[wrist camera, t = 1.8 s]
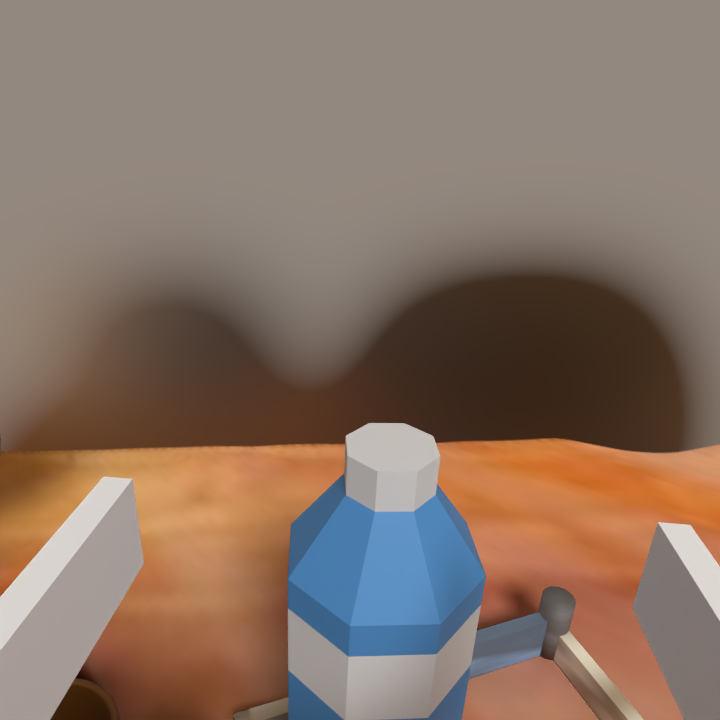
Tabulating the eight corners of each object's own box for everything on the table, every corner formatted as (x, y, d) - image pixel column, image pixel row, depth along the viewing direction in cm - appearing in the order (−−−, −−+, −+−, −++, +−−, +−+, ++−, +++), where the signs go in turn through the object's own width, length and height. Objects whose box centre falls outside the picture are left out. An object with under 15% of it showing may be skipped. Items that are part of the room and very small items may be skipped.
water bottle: (321, 948, 28) (336, 545, 18) (263, 768, 36) (252, 416, 26) (475, 853, 32) (554, 480, 22) (393, 709, 40) (425, 384, 30)
